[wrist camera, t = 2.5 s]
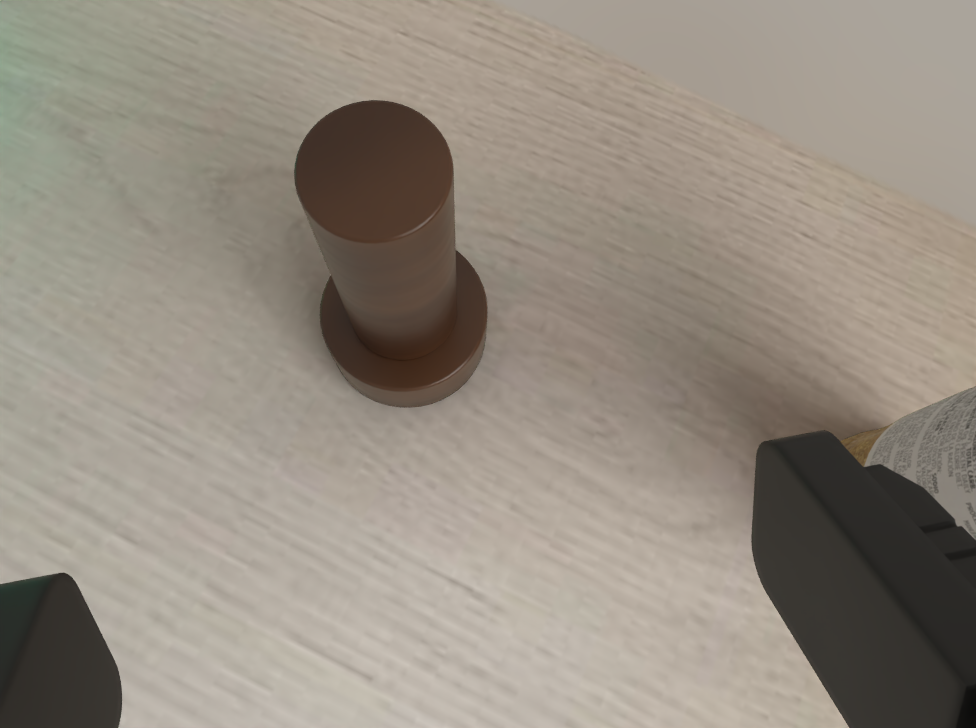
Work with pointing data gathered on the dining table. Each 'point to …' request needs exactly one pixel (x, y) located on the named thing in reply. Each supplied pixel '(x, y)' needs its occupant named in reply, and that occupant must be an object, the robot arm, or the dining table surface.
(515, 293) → the dining table surface
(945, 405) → the sprinkles bottle
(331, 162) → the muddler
